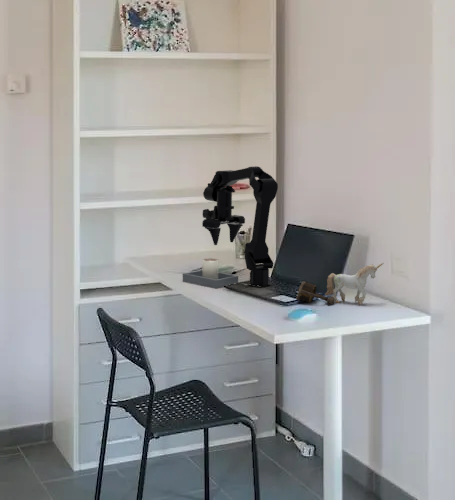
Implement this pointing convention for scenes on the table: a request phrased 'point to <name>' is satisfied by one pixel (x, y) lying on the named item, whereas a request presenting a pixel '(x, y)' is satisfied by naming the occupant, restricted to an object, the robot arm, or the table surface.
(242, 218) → the robot arm
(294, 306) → the table surface
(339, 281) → the unicorn figurine
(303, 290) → the brown wooden mallet
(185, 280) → the desk tray
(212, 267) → the ceramic cup
